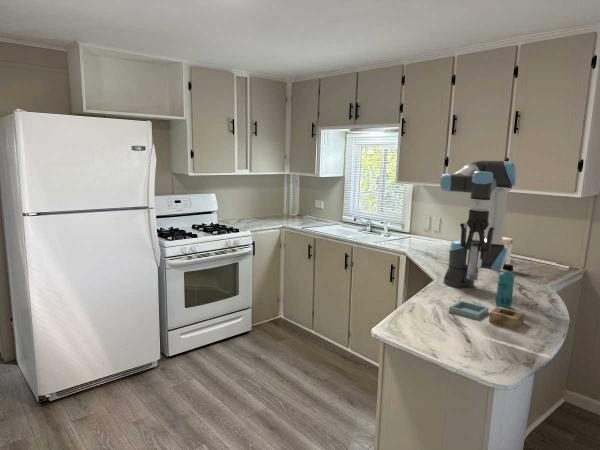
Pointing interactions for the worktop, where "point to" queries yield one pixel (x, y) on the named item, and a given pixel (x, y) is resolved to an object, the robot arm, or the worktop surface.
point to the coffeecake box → (507, 245)
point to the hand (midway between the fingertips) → (473, 265)
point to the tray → (468, 310)
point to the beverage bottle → (505, 287)
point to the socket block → (506, 317)
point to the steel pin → (473, 260)
